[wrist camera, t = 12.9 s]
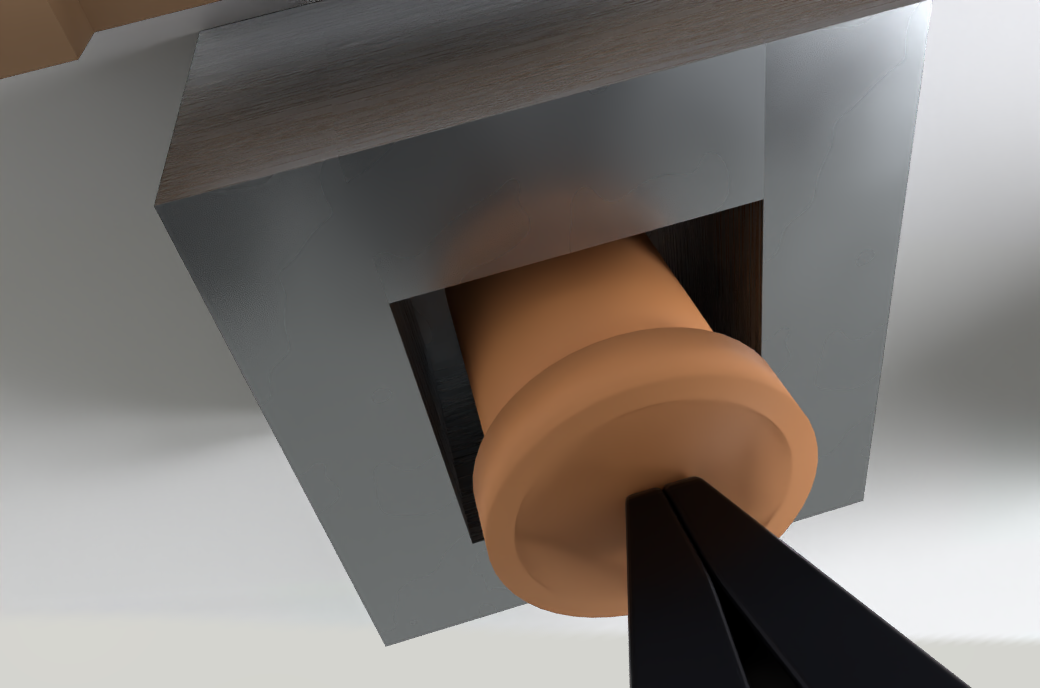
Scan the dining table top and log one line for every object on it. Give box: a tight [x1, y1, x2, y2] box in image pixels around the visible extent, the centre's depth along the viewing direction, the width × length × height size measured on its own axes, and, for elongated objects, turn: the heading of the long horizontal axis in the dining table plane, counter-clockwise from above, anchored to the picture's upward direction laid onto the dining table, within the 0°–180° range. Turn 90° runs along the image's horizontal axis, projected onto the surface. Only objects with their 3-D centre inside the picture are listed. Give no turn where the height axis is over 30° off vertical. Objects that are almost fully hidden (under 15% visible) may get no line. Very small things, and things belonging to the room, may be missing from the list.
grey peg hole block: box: [154, 0, 933, 646], centre depth 13 cm, size 8×8×6 cm
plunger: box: [444, 232, 818, 618], centre depth 11 cm, size 4×4×5 cm
